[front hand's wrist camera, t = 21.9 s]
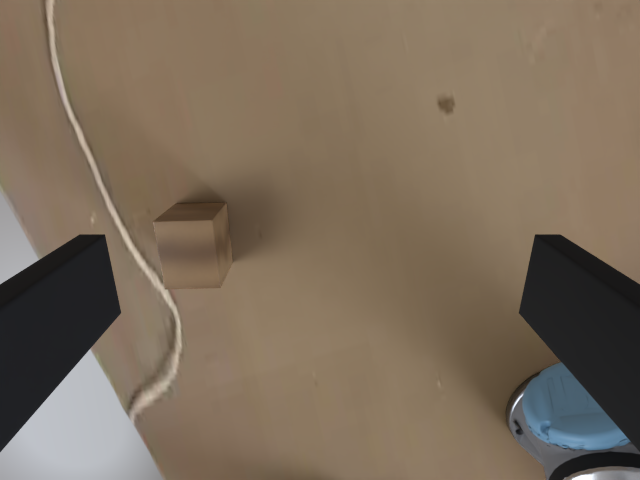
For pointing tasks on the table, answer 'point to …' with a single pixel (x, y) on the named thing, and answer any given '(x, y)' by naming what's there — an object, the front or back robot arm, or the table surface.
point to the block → (194, 245)
